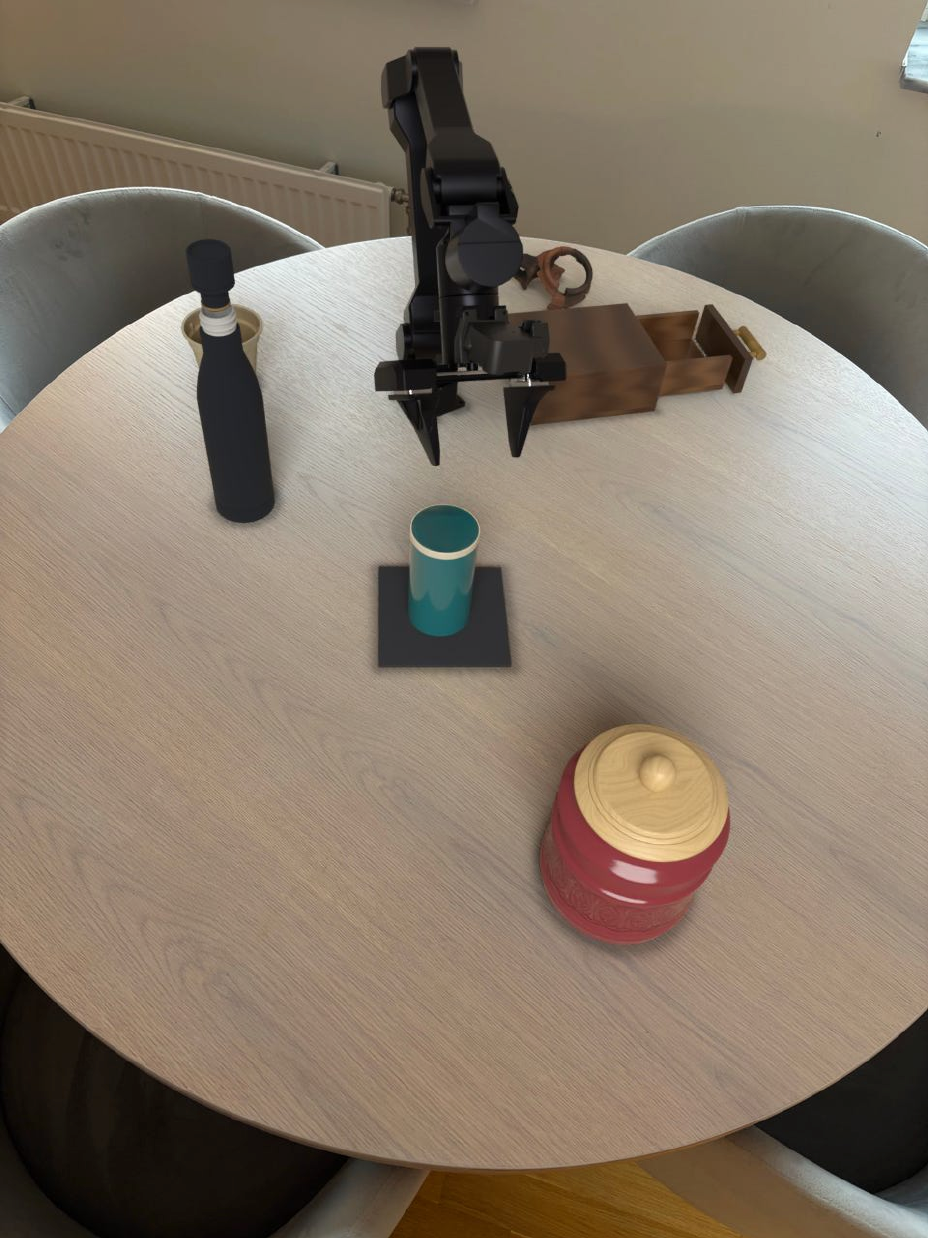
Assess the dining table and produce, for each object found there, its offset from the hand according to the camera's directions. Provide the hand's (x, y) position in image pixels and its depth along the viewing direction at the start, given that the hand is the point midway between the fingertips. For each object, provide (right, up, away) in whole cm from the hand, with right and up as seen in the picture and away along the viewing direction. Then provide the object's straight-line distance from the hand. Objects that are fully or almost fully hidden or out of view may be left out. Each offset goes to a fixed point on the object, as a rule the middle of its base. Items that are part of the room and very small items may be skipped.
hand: (476, 461), depth 95 cm
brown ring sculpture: (+11, +31, +42) cm, 53 cm away
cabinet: (+13, +15, +29) cm, 35 cm away
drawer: (+28, +17, +31) cm, 45 cm away
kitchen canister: (+11, -37, -15) cm, 42 cm away
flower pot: (-30, +13, +24) cm, 41 cm away
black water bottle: (-26, -3, +11) cm, 28 cm away
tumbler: (-4, -15, +2) cm, 16 cm away
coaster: (-4, -15, +2) cm, 16 cm away
